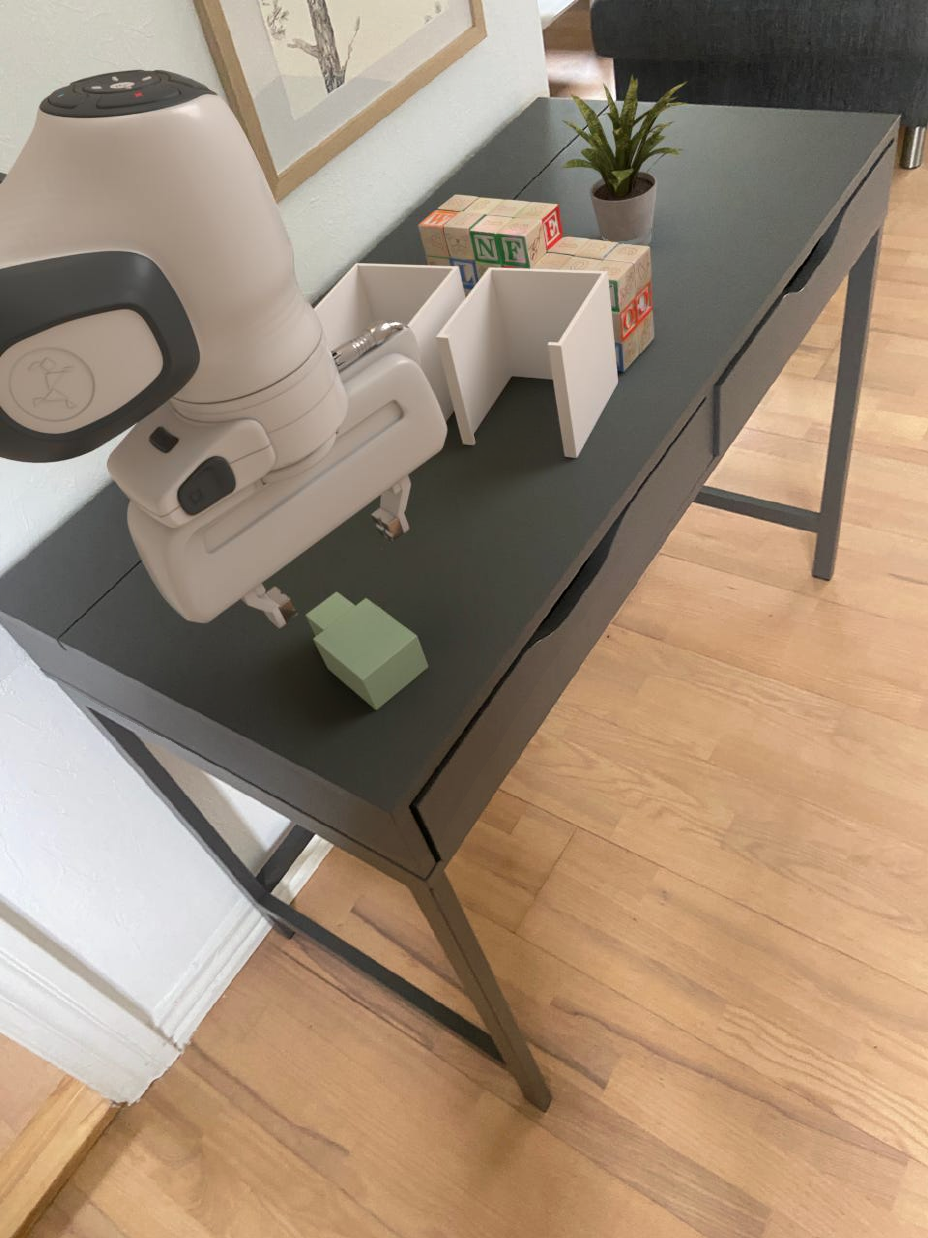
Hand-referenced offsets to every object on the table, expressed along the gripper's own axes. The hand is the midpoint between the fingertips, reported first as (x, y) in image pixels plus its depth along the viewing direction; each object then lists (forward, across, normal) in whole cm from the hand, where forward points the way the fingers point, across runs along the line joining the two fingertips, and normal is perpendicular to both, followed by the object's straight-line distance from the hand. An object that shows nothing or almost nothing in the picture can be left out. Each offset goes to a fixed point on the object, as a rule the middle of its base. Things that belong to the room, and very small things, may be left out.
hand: (340, 574), depth 60 cm
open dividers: (+10, -26, -18) cm, 33 cm away
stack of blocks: (+10, -38, -20) cm, 44 cm away
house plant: (+10, -56, -24) cm, 62 cm away
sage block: (+10, 0, -1) cm, 10 cm away
